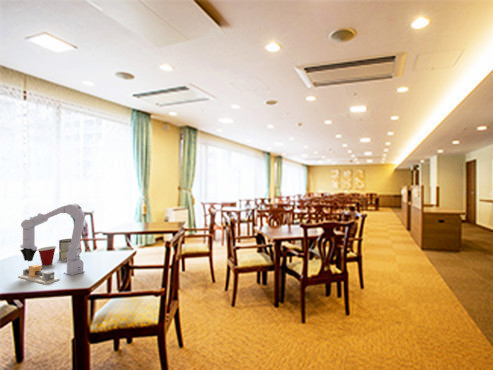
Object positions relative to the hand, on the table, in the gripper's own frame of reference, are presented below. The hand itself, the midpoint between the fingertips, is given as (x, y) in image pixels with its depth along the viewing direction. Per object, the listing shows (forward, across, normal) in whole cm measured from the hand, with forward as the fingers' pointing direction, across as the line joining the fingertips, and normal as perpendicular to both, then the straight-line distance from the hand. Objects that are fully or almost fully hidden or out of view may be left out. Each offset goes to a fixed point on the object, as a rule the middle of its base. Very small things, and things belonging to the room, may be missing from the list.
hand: (28, 260), depth 170 cm
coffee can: (+10, -22, +36) cm, 44 cm away
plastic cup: (+10, -17, +20) cm, 28 cm away
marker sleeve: (+8, +7, 0) cm, 11 cm away
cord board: (+9, +11, 0) cm, 14 cm away
